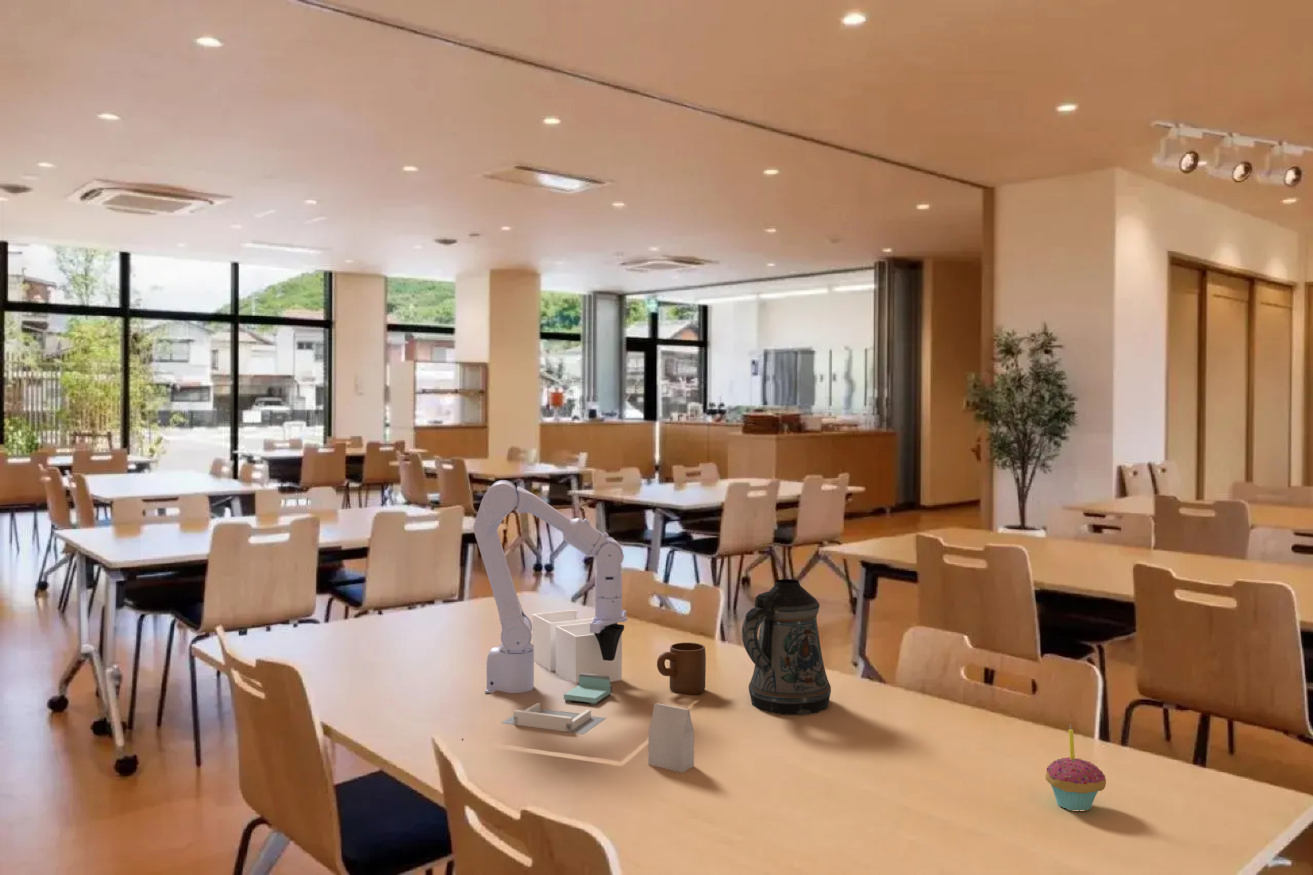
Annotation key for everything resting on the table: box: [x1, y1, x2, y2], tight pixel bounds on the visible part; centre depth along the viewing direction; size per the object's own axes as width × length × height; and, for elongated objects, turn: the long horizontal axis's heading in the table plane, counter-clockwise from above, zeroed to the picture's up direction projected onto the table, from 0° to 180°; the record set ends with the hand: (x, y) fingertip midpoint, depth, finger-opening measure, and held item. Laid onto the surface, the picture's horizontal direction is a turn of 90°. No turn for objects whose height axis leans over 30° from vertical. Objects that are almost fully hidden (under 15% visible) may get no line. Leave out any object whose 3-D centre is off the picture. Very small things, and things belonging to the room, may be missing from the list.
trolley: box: [563, 673, 613, 707], centre depth 207 cm, size 7×8×5 cm
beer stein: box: [741, 578, 832, 716], centre depth 205 cm, size 16×19×25 cm
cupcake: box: [1045, 723, 1107, 811], centre depth 155 cm, size 9×8×12 cm
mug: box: [656, 642, 707, 696], centre depth 213 cm, size 12×8×9 cm, turn 130°
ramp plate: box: [545, 709, 580, 714], centre depth 200 cm, size 9×5×1 cm, turn 69°
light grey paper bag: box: [647, 702, 695, 773], centre depth 172 cm, size 4×7×10 cm, turn 56°
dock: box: [501, 702, 606, 735], centre depth 193 cm, size 17×10×3 cm, turn 69°
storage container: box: [531, 609, 623, 684], centre depth 231 cm, size 25×11×11 cm, turn 28°
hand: (608, 659), depth 216 cm, fingers closed
